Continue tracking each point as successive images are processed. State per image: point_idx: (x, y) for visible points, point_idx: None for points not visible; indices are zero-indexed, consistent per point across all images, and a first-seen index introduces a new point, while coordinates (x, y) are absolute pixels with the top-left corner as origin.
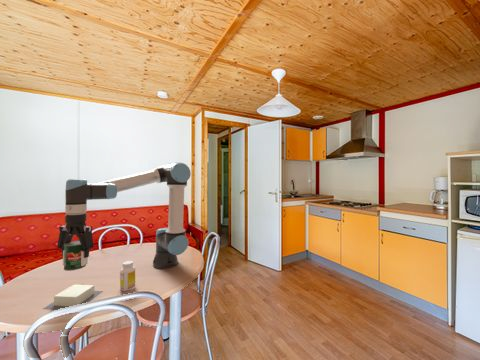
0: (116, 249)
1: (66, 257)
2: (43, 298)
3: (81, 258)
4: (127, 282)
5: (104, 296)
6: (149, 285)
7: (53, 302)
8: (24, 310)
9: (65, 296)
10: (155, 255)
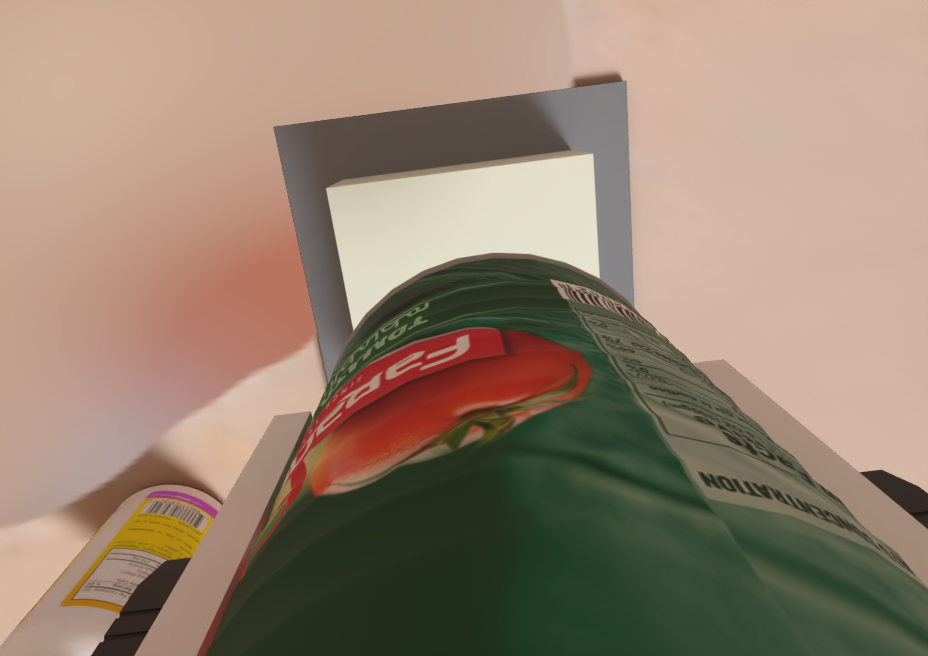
0: None
1: (555, 344)
2: (797, 237)
3: (253, 508)
4: (88, 545)
5: (262, 381)
6: (29, 605)
7: (624, 189)
8: (785, 37)
9: (459, 174)
10: None
